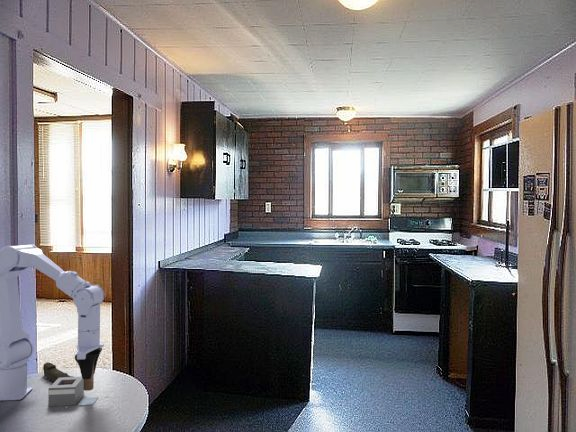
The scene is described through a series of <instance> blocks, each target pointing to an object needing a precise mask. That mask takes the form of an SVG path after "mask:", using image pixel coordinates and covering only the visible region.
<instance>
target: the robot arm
mask: <svg viewBox="0 0 576 432" xmlns="http://www.w3.org/2000/svg"><path fill="white" fill-rule="evenodd" d="M28 268H34V269H36V270H37V271H39V272H41V273H43V274H44V275H45V276H48V277H49V278H51V279H52V280H54V281H55V285H56V286H55V287H56V288H58V290H60V291H61V292H63V293H64V294H66V295H68V297H70V298H71V299H73V303H74V305H75V307H76V309H77V310H76V313H77V314H78V315H77V345H76V349H77V353H76V354H75V355H74V360H75V361H76V363H77V365H78V367H79V370H80V374H81V375H80V376H81V377H82V379H83V380H84V379H91V377H92V372H93V365H94V374H95V372H96V369H97V364H98V360H99V357H100V355H101V353H102V350H103V348H104V346H105V343H104V342H101V304H102V303H103V301H104V299H105V291H104V290H103V288H102V287H101V286H100V285H99V284H91V282H90V281H86V280H85V279H84V278H81V277H80V276H79V275H78V274H79V273H78V272H76V271H75V270H74V271H72V270H67V271H65V270H63V268H61V267H60V266H59V265H57V264H56V263H55V262H54V261H52V260H51V259H50V258H49V256H47V255H45V254H44V253H43V249H41V248H38V246H36V245H35V244H33V243H32V244H31V243H30V244H29V243H28V244H22V245H5V246H3V247H2V248H0V401H1V402H2V401H16V400H18V401H19V400H20V401H21V400H22V399H23V398H25V397H26V395H28V394H29V393H31V391H32V390H33V387H28V362H29V361H30V358H31V357H32V355H33V353H34V344H33V342H32V340H31V338H30V334H29V333H28V332H27V331H26V330H24V329H23V322H22V313H21V303H20V302H21V301H20V294H19V293H20V292H19V283H18V282H19V281H18V277H19V276H20V275H21V274H22V273H23V271H25V270H26V269H28Z"/></svg>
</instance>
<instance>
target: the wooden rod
mask: <svg viewBox="0 0 576 432" xmlns="http://www.w3.org/2000/svg"><path fill="white" fill-rule="evenodd" d="M94 376H95V373H94V365H93V372H92V377H91V379H84V385H83V390H84V392H85V391H86V392H88V391H92V390H94V388H95V387H94V382H95V381H94V379H95V378H94Z"/></svg>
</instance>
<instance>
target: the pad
mask: <svg viewBox="0 0 576 432" xmlns="http://www.w3.org/2000/svg"><path fill="white" fill-rule="evenodd" d="M98 399H99V397H98V396H95V397H94V396H93V397H92V396H91V397H90V396H89V397H82V398H81V400H80V402H79V403H78V404H77V407H86V406H87V407H88V406H89V407H90V406H94V405H95V403H96V401H97V400H98Z"/></svg>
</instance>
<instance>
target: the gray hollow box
mask: <svg viewBox="0 0 576 432" xmlns="http://www.w3.org/2000/svg"><path fill="white" fill-rule="evenodd" d="M65 384H72V385H65ZM83 385H84V380H83V379H82V376H73V377H62V378H58V379H57V380H56V381H55V382H54V381H53V383H52V384H51V385H50V386H49V387H48V395H47V396H48V397H47V398H48V399H47V403H48V407H58V406H76V405H77V403H78V402H79V400H80V399H82V396H83V395H84V394H85V390H83Z"/></svg>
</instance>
